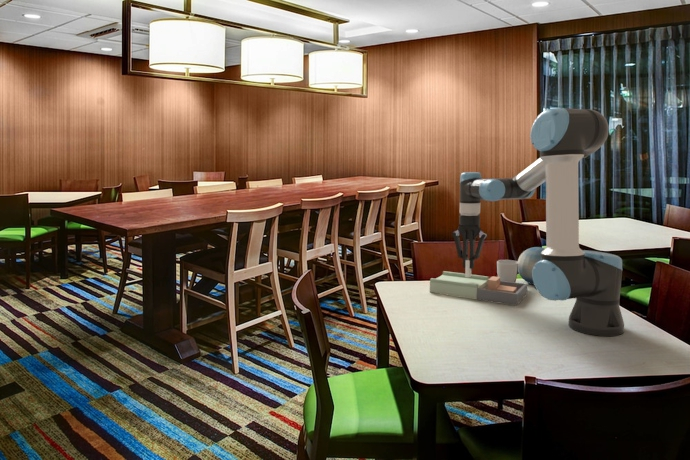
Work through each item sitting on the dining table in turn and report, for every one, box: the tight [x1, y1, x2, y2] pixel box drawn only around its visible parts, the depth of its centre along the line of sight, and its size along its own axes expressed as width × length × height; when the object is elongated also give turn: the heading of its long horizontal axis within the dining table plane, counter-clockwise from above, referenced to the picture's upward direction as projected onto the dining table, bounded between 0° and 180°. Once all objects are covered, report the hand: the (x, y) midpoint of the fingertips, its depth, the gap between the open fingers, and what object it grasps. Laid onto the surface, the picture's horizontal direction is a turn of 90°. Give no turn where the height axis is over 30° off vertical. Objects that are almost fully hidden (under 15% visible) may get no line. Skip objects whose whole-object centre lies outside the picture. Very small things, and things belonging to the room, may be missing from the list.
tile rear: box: [488, 275, 500, 291], centre depth 191 cm, size 6×6×3 cm
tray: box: [476, 281, 528, 306], centre depth 189 cm, size 16×14×4 cm
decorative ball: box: [517, 246, 545, 285], centre depth 206 cm, size 15×15×15 cm
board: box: [429, 270, 490, 300], centre depth 198 cm, size 15×18×5 cm
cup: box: [496, 259, 519, 283], centre depth 203 cm, size 8×8×10 cm
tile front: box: [496, 285, 517, 293], centre depth 189 cm, size 6×6×3 cm
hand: (468, 276), depth 195 cm, fingers closed
